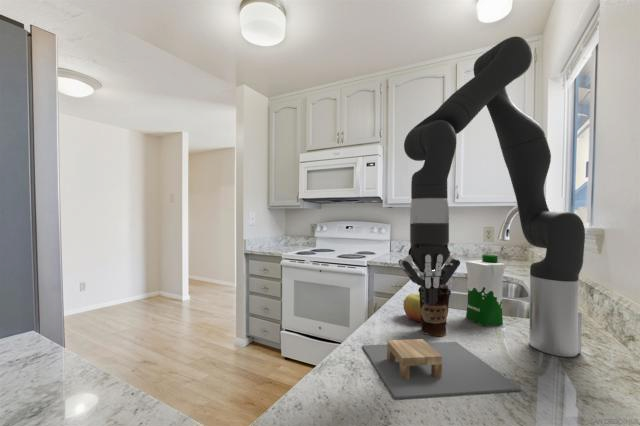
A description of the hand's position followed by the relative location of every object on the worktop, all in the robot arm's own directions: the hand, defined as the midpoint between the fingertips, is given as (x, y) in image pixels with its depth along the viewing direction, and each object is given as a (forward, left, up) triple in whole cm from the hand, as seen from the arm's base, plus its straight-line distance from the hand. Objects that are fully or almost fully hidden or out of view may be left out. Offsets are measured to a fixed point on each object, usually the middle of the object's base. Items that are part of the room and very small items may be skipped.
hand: (429, 305), depth 60 cm
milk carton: (-31, -25, -13) cm, 42 cm away
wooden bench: (-1, 0, -11) cm, 11 cm away
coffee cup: (-11, -18, -13) cm, 25 cm away
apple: (-12, -28, -13) cm, 34 cm away
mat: (-1, -1, -13) cm, 13 cm away
